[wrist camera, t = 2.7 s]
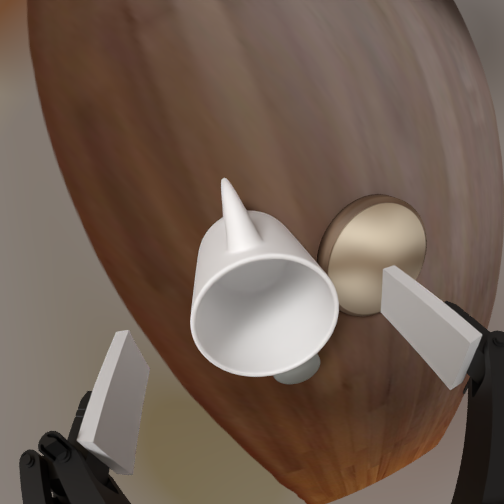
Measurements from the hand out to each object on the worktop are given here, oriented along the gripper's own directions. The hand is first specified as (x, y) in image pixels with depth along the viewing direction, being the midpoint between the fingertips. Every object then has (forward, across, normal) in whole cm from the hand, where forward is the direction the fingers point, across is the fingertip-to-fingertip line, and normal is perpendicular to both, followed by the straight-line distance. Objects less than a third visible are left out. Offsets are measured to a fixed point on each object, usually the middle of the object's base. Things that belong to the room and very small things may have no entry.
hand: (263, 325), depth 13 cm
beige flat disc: (+12, +13, -5) cm, 19 cm away
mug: (+13, 0, 0) cm, 13 cm away
